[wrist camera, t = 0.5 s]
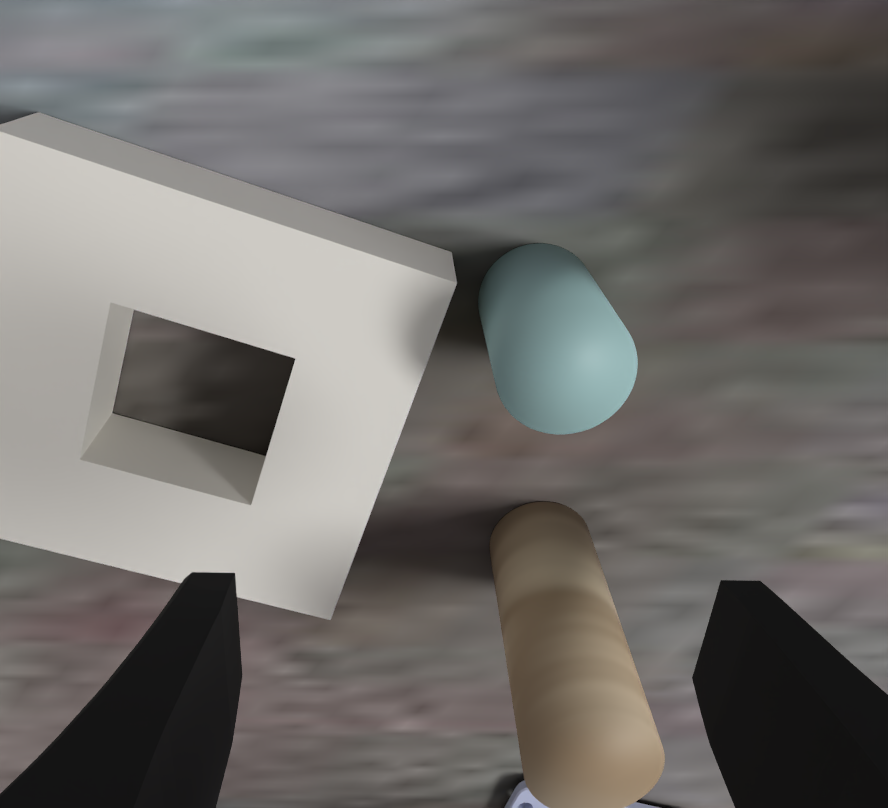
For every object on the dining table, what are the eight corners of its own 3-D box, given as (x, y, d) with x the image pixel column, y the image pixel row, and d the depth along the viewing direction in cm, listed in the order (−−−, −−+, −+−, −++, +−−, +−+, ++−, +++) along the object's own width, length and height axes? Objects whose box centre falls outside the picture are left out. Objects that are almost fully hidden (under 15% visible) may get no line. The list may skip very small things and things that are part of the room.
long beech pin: (566, 595, 26) (627, 826, 19) (474, 570, 25) (502, 800, 18) (606, 517, 25) (689, 733, 17) (511, 489, 24) (556, 700, 17)
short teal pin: (566, 368, 22) (601, 450, 18) (461, 334, 22) (474, 411, 18) (612, 265, 21) (661, 328, 17) (503, 226, 21) (526, 283, 17)
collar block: (337, 563, 25) (330, 619, 23) (-14, 472, 23) (-59, 523, 21) (451, 252, 21) (457, 283, 19) (38, 112, 19) (-11, 127, 17)
